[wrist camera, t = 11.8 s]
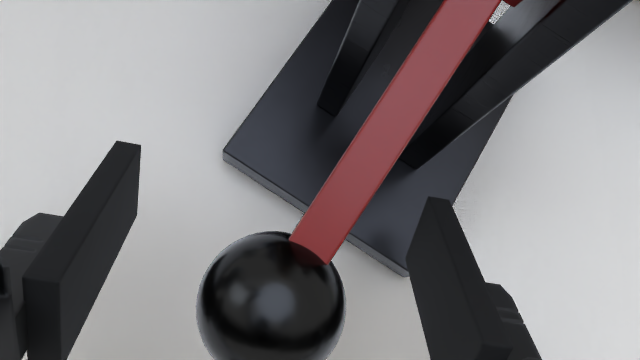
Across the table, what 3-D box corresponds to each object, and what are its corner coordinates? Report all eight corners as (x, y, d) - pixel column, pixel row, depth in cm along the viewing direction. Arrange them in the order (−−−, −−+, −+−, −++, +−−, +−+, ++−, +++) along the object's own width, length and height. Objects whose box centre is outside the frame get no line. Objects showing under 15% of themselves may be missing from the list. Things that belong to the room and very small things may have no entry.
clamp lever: (298, 377, 15) (288, 445, 11) (189, 306, 15) (145, 352, 11) (586, -59, 14) (671, -133, 11) (473, -133, 14) (521, -231, 11)
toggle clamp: (404, 278, 22) (658, 218, 9) (222, 159, 22) (216, -71, 9) (522, 65, 26) (826, -198, 13) (365, -38, 26) (510, -407, 13)
